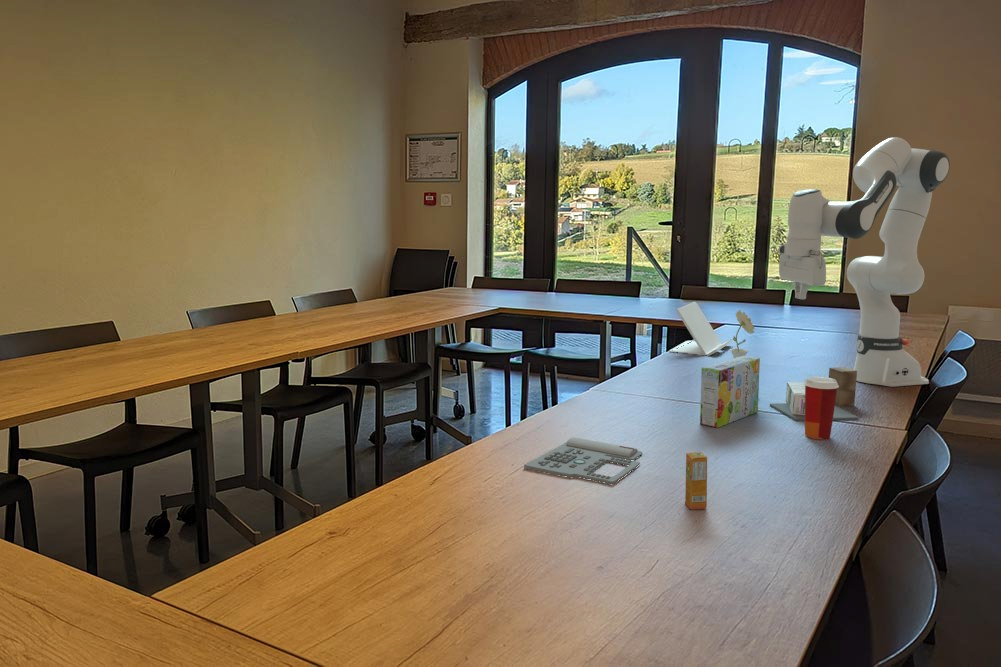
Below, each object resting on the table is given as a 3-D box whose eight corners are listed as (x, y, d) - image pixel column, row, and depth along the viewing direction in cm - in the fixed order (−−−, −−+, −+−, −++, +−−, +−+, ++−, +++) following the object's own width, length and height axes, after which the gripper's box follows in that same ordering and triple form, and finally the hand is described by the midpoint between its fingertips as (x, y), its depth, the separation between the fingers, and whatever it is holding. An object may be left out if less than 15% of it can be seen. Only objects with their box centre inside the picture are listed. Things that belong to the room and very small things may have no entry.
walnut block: (841, 401, 214) (844, 366, 212) (854, 405, 209) (857, 370, 207) (826, 402, 213) (829, 367, 211) (838, 407, 208) (841, 371, 206)
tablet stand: (668, 352, 285) (670, 308, 282) (686, 342, 306) (688, 300, 303) (717, 357, 276) (719, 311, 273) (732, 346, 297) (734, 303, 294)
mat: (828, 404, 210) (828, 402, 210) (858, 419, 196) (858, 417, 196) (769, 405, 209) (769, 403, 209) (795, 421, 194) (795, 418, 194)
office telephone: (573, 432, 178) (654, 446, 168) (573, 443, 178) (654, 458, 168) (523, 458, 159) (611, 476, 148) (523, 470, 159) (611, 489, 149)
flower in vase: (759, 403, 212) (765, 314, 208) (717, 400, 214) (722, 313, 210) (754, 391, 224) (759, 308, 220) (714, 389, 227) (718, 307, 222)
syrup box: (806, 402, 210) (816, 416, 196) (784, 401, 211) (792, 415, 198) (808, 382, 209) (818, 395, 195) (786, 381, 211) (794, 393, 197)
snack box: (739, 408, 206) (742, 354, 203) (758, 412, 202) (762, 357, 200) (697, 424, 191) (700, 366, 189) (717, 429, 187) (721, 369, 185)
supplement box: (682, 503, 141) (685, 451, 139) (700, 502, 141) (703, 451, 139) (688, 510, 137) (691, 457, 136) (707, 509, 138) (709, 457, 136)
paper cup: (833, 433, 184) (837, 377, 181) (836, 442, 177) (840, 384, 174) (798, 430, 186) (802, 375, 184) (800, 439, 179) (804, 381, 177)
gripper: (834, 251, 199) (830, 303, 201) (796, 246, 219) (794, 294, 221) (811, 251, 198) (808, 304, 201) (775, 247, 218) (773, 294, 221)
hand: (800, 298), depth 211 cm, fingers closed
